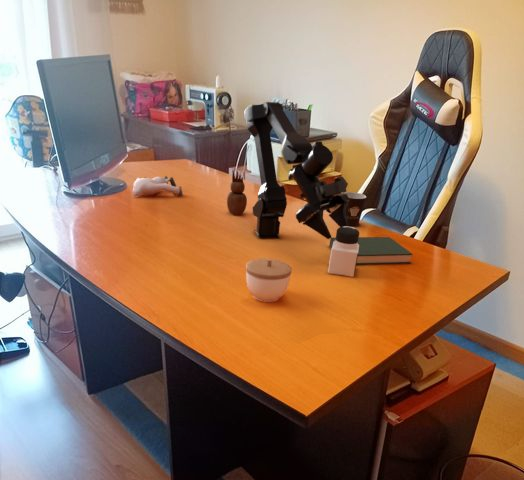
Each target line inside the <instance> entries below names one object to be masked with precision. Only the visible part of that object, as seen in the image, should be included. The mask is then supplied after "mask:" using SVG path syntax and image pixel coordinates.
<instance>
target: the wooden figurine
mask: <svg viewBox="0 0 524 480" xmlns="http://www.w3.org/2000/svg"><path fill="white" fill-rule="evenodd" d="M231 170H232V174H231V177H232V178H231V180H232V181H231V183H230V186H229V187H230V192H229V193H227V198H226V206H227V210H228V213H229V214H231V215H233V216H242V215H243V214H244V212H245V211H246V208H247V203H248V202H247V201H248V198H247V195H246V194H245V193H244V192H245V189H246V188H245V187H246V185H245V183H244V178H243V176H242V177H241V174H239V172H238V171H236V173H235V171H234V169H231Z"/></svg>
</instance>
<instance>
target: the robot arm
mask: <svg viewBox="0 0 524 480" xmlns="http://www.w3.org/2000/svg"><path fill="white" fill-rule="evenodd" d="M243 117H244V121H245V123H246V128H247V130H248V132H249V133H250V134H251V135H252V137H253V138H254V145H255V151H256V159H257V166H258V172H259V179H260V185H261V186H260V188H259V191H258V193H257V201H256V202H255V204H254V205H253V206H252V215H253V216H254V217H256V229H254V233H255V235H256V236H257V237H258V238H259V239H280V238H279V237H280V236H279V235H280V227H281V221H280V220H279V219H280V218H284V216H285V214H286V213H285V212H286V209H287V206H288V201H287V200H288V199H287V195H286V188H285V186H284V185H282V186H281V185H280V184H279V183H278V179H277V171H276V163H275V157H274V151H273V145H272V144H273V143H272V138H271V132H272V131H274V133H275V134H276V136H277V138H278V140H279V142H280V143H281V150H280V151H281V155H282V157H283V160H284V162H285V163H286V164H288V165H295V167H293V168H290V169H289V173H288V180H289V181H291V180H294V181H295V183H296V185H297V187H298V188H299V190H300V192H301V194H300V195H299V197H300V198H301V199H305V200H306V202H307V203H306V204H305V205H304V206H302V207H301V208H300V209H298V210H297V211H296V213H295V219H296V220H297V222H298V223H299V224H302V225H303V226H307V227H309V228H310V229H312V230H313V231H315V232H317V233H318V234H319V235H321V236H323V238H325V239H326V240H330V238H332V235H331V232H330V229H329V228H328V226H327V223H326V221H325V219H324V211H326V212H327V213H328V217H330V219H331V220H332V221H333V222H334V223H335V224H337V226H338V227H339V228H340V227H344V226H347V227H349V226H348V223H347V218H346V207H347V205H348V201H350V199H349V197H348V196H347V194H344V192H348V191H347V188H348V185H349V183H348V181H347V180H346V179H345V178H344V176H339V177H336V178H334V181H333V182H330V183H327V182H326V181H325V180H321V179H320V178H319V176H320V175H321V174H322V173H323V172H324V171H325V170H326V169H327V167H329V166H330V165H331V163H332V162H333V159H334V155H333V152H332V151H331V150H330V149H329V148H328V146H325V145H324V144H323V141H321V140H320V141H319V140H317V141H314V142H313V144H312V143H311V142H310V141H309V140H308V139H307V137H305V136H303V135H301V134H299V133H298V132H297V130H296V129H295V126H293V124H292V123H291V121H290V119H289V117H288V116H287V114H286V112H285V111H284V106H283V104H282V103H280V102H278V101H266V102H264V103H261V104H249V105H248V106H247V108H245V110H244V113H243ZM341 193H342V194H341Z"/></svg>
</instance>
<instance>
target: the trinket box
mask: <svg viewBox="0 0 524 480" xmlns="http://www.w3.org/2000/svg"><path fill="white" fill-rule="evenodd" d="M292 270H293V269H292V267H291V265H290V264H289V263H287V262H285V261H282V260H280V259H274V258H255V259H252V260H249V261H248V262H247V263H246V264H245V282H246V286H247V289H248V291H249V292H250V294H251V295H252V296H253V298H254V299H255V300H257V301H260V302H262V303H273V302H276V301H278V300H279V299H280V298H281V297H282V296H284V295H285V294H286V292H287V290H288V288H289V285H290V281H291V275H292Z"/></svg>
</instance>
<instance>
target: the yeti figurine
mask: <svg viewBox="0 0 524 480" xmlns="http://www.w3.org/2000/svg"><path fill="white" fill-rule="evenodd" d="M162 191H164V192H168V193H171V194H172V195H173V196H178V197H181V196H183V189H182V186H180V185H179V186H177V184H176V182H175V179H174V177H173V176H170V177H168V176H167V175H165V176H164V177H162V176H155V177H153V178H149V177H137V178H136V180H134V181H133V188H132V195H133V197H141V196H143V195H145V196H153V195H155V194H157V193H160V192H162Z"/></svg>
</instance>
